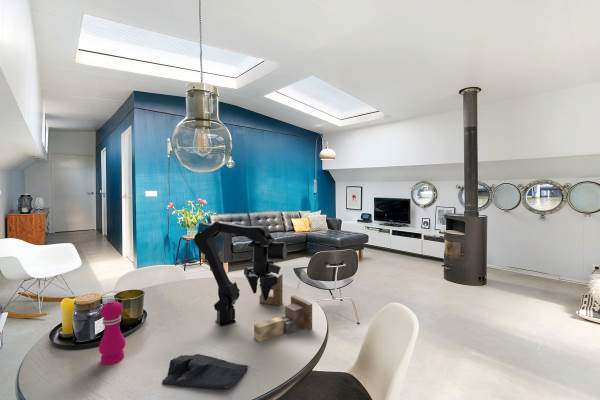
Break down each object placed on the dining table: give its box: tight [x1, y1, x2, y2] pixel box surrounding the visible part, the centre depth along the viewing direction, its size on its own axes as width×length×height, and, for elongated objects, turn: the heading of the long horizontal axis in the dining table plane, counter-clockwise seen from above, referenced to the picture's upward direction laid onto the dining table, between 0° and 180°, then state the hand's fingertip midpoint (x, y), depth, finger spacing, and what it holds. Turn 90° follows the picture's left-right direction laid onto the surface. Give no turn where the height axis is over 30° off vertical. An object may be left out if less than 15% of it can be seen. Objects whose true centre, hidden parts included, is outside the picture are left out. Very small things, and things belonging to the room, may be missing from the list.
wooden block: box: [259, 273, 284, 306], centre depth 143 cm, size 4×11×18 cm, turn 71°
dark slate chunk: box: [161, 353, 249, 390], centre depth 88 cm, size 15×22×5 cm
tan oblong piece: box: [253, 316, 290, 342], centre depth 112 cm, size 14×4×5 cm, turn 128°
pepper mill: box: [98, 297, 126, 366], centre depth 95 cm, size 7×7×20 cm
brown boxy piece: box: [279, 295, 313, 335], centre depth 118 cm, size 10×12×10 cm
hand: (259, 296), depth 119 cm, fingers open, 9 cm apart
